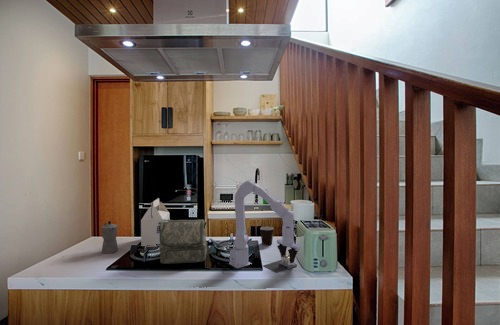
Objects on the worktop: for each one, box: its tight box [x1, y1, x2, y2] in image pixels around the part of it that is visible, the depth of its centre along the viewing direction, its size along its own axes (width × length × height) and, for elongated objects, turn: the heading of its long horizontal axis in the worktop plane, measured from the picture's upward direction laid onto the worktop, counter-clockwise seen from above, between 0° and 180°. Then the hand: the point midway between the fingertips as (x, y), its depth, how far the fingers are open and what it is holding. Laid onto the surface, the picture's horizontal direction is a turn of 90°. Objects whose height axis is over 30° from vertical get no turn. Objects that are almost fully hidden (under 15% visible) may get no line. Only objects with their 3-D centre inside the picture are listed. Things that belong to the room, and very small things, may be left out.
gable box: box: [140, 197, 171, 246], centre depth 184 cm, size 22×13×28 cm, turn 6°
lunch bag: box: [157, 219, 208, 265], centre depth 155 cm, size 26×18×22 cm
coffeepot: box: [100, 220, 119, 255], centre depth 167 cm, size 15×9×18 cm, turn 44°
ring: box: [281, 253, 295, 266], centre depth 144 cm, size 6×6×4 cm
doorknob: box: [279, 256, 298, 270], centre depth 144 cm, size 6×6×5 cm
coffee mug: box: [259, 226, 274, 246], centre depth 182 cm, size 12×9×10 cm
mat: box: [262, 259, 288, 274], centre depth 143 cm, size 14×11×1 cm
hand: (287, 260), depth 144 cm, fingers closed on ring, 5 cm apart
